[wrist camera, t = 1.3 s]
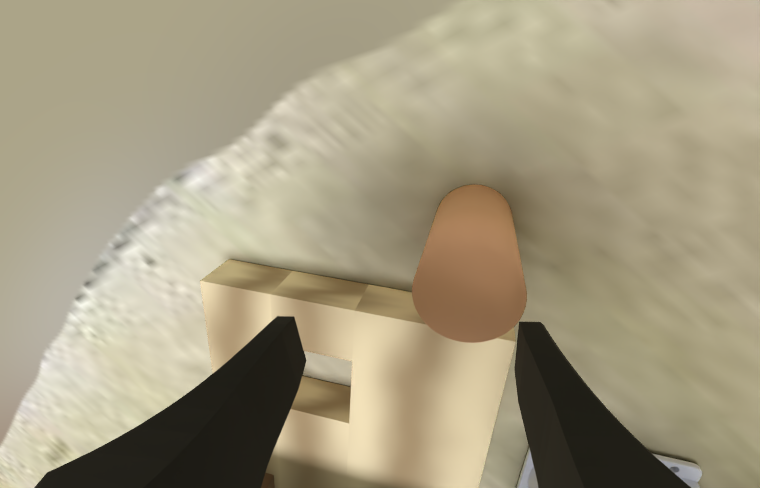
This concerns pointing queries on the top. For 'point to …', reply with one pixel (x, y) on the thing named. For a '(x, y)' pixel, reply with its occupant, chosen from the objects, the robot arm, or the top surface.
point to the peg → (471, 268)
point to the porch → (365, 381)
